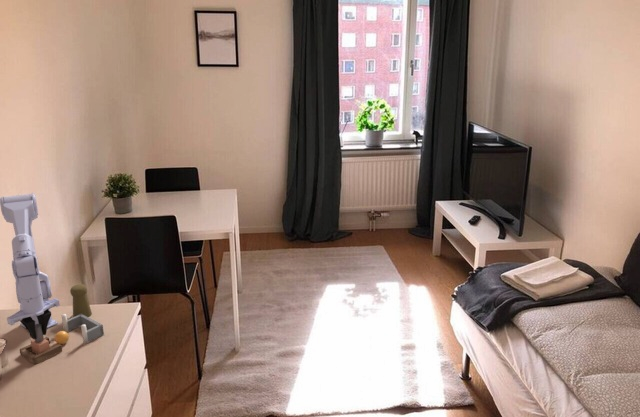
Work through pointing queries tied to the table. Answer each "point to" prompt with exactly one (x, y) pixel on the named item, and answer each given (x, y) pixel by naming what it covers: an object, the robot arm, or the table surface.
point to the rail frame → (41, 356)
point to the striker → (39, 341)
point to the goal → (83, 326)
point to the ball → (61, 337)
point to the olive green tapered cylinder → (80, 301)
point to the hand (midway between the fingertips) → (38, 335)
